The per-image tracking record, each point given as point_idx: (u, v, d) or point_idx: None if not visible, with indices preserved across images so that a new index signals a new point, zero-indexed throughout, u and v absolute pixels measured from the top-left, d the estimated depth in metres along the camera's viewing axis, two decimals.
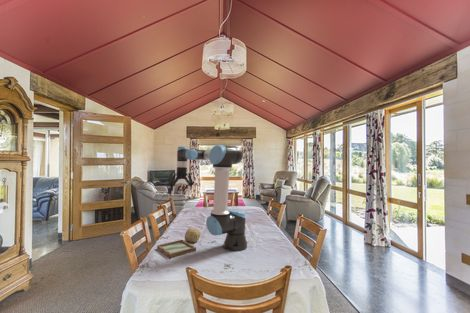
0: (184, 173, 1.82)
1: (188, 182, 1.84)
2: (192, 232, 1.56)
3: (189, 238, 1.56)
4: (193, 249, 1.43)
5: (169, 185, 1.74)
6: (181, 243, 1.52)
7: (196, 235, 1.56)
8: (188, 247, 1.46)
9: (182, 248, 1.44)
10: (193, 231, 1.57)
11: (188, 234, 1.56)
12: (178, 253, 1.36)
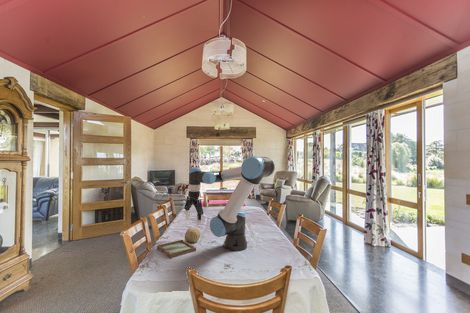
0: (193, 198, 1.57)
1: (196, 210, 1.54)
2: (192, 232, 1.56)
3: (189, 238, 1.56)
4: (193, 249, 1.43)
5: (184, 208, 1.66)
6: (181, 243, 1.52)
7: (196, 235, 1.56)
8: (188, 247, 1.46)
9: (182, 248, 1.44)
10: (193, 231, 1.57)
11: (188, 234, 1.56)
12: (178, 253, 1.36)
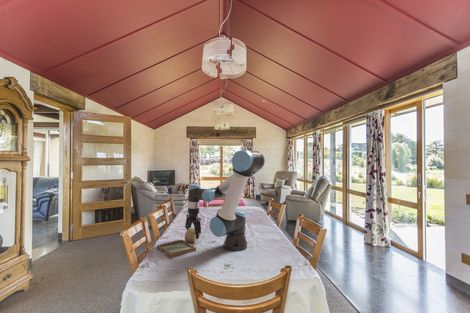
0: (193, 215, 1.57)
1: (194, 228, 1.55)
2: (192, 232, 1.56)
3: (189, 238, 1.55)
4: (193, 249, 1.43)
5: (185, 227, 1.64)
6: (181, 243, 1.52)
7: None
8: (188, 247, 1.46)
9: (182, 248, 1.44)
10: (193, 231, 1.57)
11: (188, 234, 1.56)
12: (178, 253, 1.36)
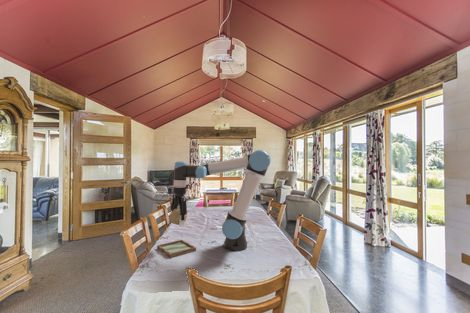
0: (179, 195, 1.44)
1: (180, 209, 1.42)
2: (177, 213, 1.43)
3: (174, 219, 1.42)
4: (193, 249, 1.43)
5: (171, 208, 1.51)
6: (181, 243, 1.52)
7: None
8: (188, 247, 1.46)
9: (182, 248, 1.44)
10: (178, 212, 1.43)
11: (173, 215, 1.43)
12: (178, 253, 1.36)
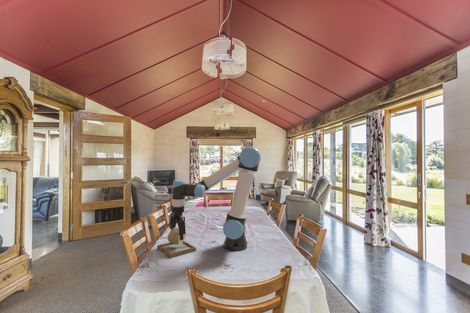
0: (177, 214, 1.43)
1: (178, 228, 1.41)
2: (176, 233, 1.42)
3: (172, 239, 1.41)
4: (193, 249, 1.43)
5: (169, 227, 1.50)
6: None
7: None
8: (188, 247, 1.46)
9: (182, 248, 1.44)
10: (177, 232, 1.42)
11: (171, 235, 1.41)
12: (178, 253, 1.36)
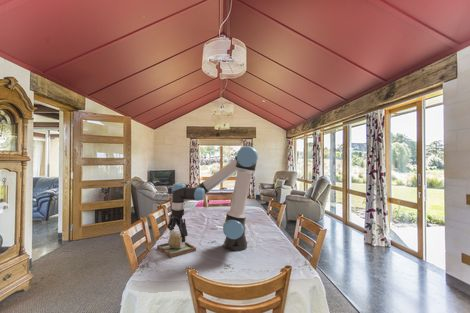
0: (177, 217, 1.43)
1: None
2: (176, 237, 1.41)
3: (173, 244, 1.41)
4: (193, 249, 1.43)
5: None
6: None
7: None
8: (188, 247, 1.46)
9: (182, 248, 1.44)
10: (177, 236, 1.42)
11: (172, 240, 1.41)
12: (178, 253, 1.36)
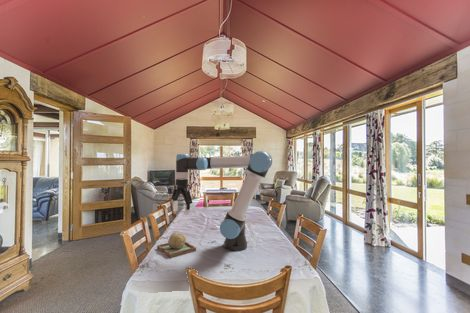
0: (181, 187, 1.46)
1: (184, 199, 1.44)
2: (176, 237, 1.41)
3: (173, 244, 1.41)
4: (193, 249, 1.43)
5: (171, 198, 1.55)
6: None
7: (180, 241, 1.42)
8: (188, 247, 1.46)
9: (182, 248, 1.44)
10: (177, 236, 1.42)
11: (172, 240, 1.41)
12: (178, 253, 1.36)
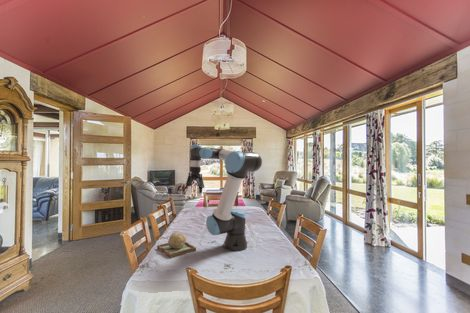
0: (195, 173, 1.68)
1: None
2: (176, 237, 1.41)
3: (173, 244, 1.41)
4: (193, 249, 1.43)
5: None
6: None
7: (180, 241, 1.42)
8: (188, 247, 1.46)
9: (182, 248, 1.44)
10: (177, 236, 1.42)
11: (172, 240, 1.41)
12: (178, 253, 1.36)
